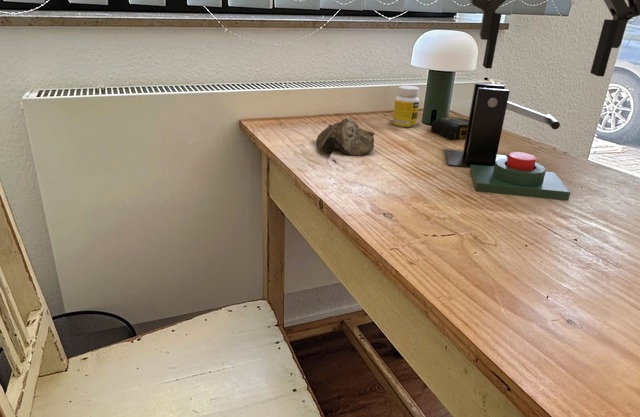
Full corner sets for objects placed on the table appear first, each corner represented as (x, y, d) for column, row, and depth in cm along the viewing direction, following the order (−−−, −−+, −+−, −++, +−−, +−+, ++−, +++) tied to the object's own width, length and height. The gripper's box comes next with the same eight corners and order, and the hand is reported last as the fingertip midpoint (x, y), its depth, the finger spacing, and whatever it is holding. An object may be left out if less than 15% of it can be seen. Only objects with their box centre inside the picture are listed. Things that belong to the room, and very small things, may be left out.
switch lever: (546, 126, 78) (554, 112, 77) (555, 134, 73) (563, 119, 72) (475, 99, 78) (482, 85, 77) (479, 106, 73) (486, 91, 72)
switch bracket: (504, 162, 82) (520, 84, 77) (513, 178, 75) (532, 94, 70) (443, 156, 84) (455, 80, 79) (447, 171, 77) (460, 88, 71)
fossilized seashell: (386, 142, 81) (344, 137, 89) (371, 109, 77) (328, 108, 85) (360, 172, 78) (319, 165, 86) (343, 140, 75) (301, 136, 82)
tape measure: (428, 135, 96) (430, 116, 94) (457, 133, 98) (460, 115, 97) (448, 145, 90) (451, 125, 88) (479, 143, 92) (482, 123, 91)
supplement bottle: (413, 133, 96) (419, 90, 93) (389, 130, 98) (394, 87, 94) (417, 128, 101) (422, 86, 97) (394, 125, 102) (399, 84, 98)
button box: (551, 186, 73) (557, 160, 71) (566, 207, 66) (574, 179, 64) (468, 178, 74) (472, 152, 73) (474, 197, 67) (479, 170, 66)
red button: (530, 165, 70) (532, 153, 69) (536, 173, 67) (539, 161, 66) (504, 162, 70) (506, 150, 70) (508, 170, 67) (511, 158, 66)
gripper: (689, -116, 56) (632, 73, 65) (467, -121, 60) (441, 60, 68) (727, -131, 49) (658, 83, 58) (474, -136, 53) (444, 67, 62)
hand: (541, 71), depth 63 cm, fingers open, 13 cm apart
